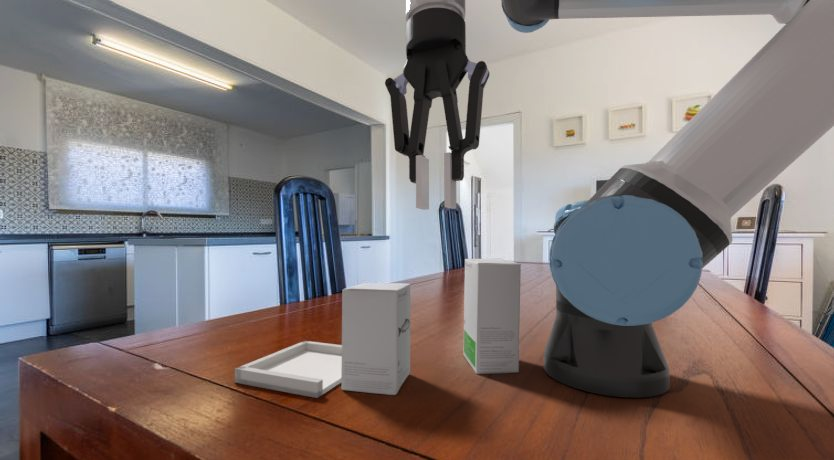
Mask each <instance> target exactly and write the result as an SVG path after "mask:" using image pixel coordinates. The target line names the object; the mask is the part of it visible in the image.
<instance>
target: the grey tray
mask: <svg viewBox="0 0 834 460" xmlns="http://www.w3.org/2000/svg"><path fill="white" fill-rule="evenodd" d="M341 373H342V344H335V343H326V342H320V341H309V340H303V341H300V342H298V343H296V344H293V345H290V346H288V347H285V348H282V349H281V350H278V351H276V352H273V353H270V354H268V355H265V356H263V357H261V358H258V359H256V360H253V361H250V362H247V363H245V364H244V365H243V364H242V365H241V366H238V367H235V368H234V383H235V384H239V385H240V384H241V385H246V386H251V387H256V388H262V389H266V390H272V391H278V392H281V393H282V392H284V393H288V394H294V395H298V396H299V395H300V396H304V397H309V398H310V397H311V398H315V399H319V398H320V397H321V396H323V395H324V394H327V392H329V391H330V390H332V389H333V388H335V387H337V386H338V385H340V384H341V377H342V376H341Z"/></svg>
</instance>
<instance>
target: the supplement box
mask: <svg viewBox="0 0 834 460" xmlns="http://www.w3.org/2000/svg"><path fill="white" fill-rule="evenodd" d="M341 296H342V297H341V302H342V303H341V345H342V373H341V376H342V377H341V383H340V384H341V386H340V389H341V390H342V391H349V392H357V393H358V392H360V393H369V394H380V395H388V396H396V395H397V394H398V393H399V390H400V389H401V387H402V385H403V384H404V382H405V381H406V380H407V378H408V376H409V375H410V373H411V283H400V282H399V283H398V282H397V283H396V282H393V283H392V282H390V283H389V282H362V283H359V284H357V285H352V286H348V287H345V288H343V289H342V293H341Z"/></svg>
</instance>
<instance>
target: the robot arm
mask: <svg viewBox="0 0 834 460" xmlns="http://www.w3.org/2000/svg"><path fill="white" fill-rule="evenodd" d="M500 1H501V9H502V11H503V13H504V15H505V17H506V20H507V22H508V23H509V25H510V27H512V29H514V30H515V31H517V32H519V33H523V34H526V33H527V34H529V33H533V32H536V31H537V30H539V29H541V28H543V27H545V26H546V25H547V24H548V23H549V21H550V20H560V19H561V20H562V19H563V20H565V19H567V20H568V19H569V20H570V19H572V20H573V19H606V18H607V19H609V18H610V19H613V18H616V19H617V18H619V19H620V18H621V19H622V18H659V17H660V18H662V17H667V18H668V17H707V16H709V17H711V16H716V17H717V16H752V15H753V16H755V15H756V16H757V15H761V16H762V15H763V16H764V15H770V16H773V18H774V20H775V21H776V22H777V23H778V24H780V25H781V24H783V25H784V24H785V25H784V26H782V27H781V28H780V29H779V31H778V32H777V33H776V34H774V36H773V37H772V38H771V39H770V40H769V41H768V42H767V43H765V44H764V46H762V47H761V48H760V50H759V51H757V53H756V54H755V55H753V57H751V59H750V60H749V61H748V62H747V63H745V65H744V66H743V67H742V68H740V70H739V71H738V72H737V73H735V74H734V76H732V77H731V79H729V81H727V82H726V84H724V86H722V88H721V89H719V91H717V93H715V94H714V95H713V97H712V98H711V99H709V101H708V102H707V103H706V104H704V106H703V107H702V108H700V110H699V111H697V113H696V114H695V115H694V116H692V118H691V119H690V120H689V121H687V122H686V124H685V125H683V127H682V128H680V130H678V132H676V133H675V135H673V136H672V138H671V139H670V140H668V142H667V143H666V144H665V145H664V146H663V147H661V148H660V150H659V151H657V153H655V155H653V156H652V157H651V159H650V160H648V161H647V162H643V163H636V164H626V165H622V166H621V167H620V168H619V169H618V170H617V171H616V172H615V173H614V174H612V176H611V177H610V178H609V179H608V180H607V181H606V182H605V183H604V184H603V185H602V186H601V187H600V188H599V189H598V190H597V191H596V192H595V193H594V194H593V195H592V196H591V197H590V198H589V199H587V200H580V201H575V202H572V203H569V204H566V205H563V206H561V207H560V208H559V209H558V210H557V211H556V212H555V217H554V219H555V220H554V223H553V232H554V236H553V238H552V240H551V244H550V248H549V253H548V254H549V257H548V258H549V270H550V272H551V277H552V279H553V281H554V282H553V283H554V284H555V304H556V307H555V312H556V313H555V318H554V321H553V323H552V327H551V330H550V333H549V336H548V339H547V341H546V346H545V348H544V351H543V369H544V371H545V373H546V374H547V376H549V377H551V378H552V379H553V380H555V381H557V382H560V383H561V384H564V385H566V386H568V387H571V388H574V389H578V390H581V391H583V392H584V391H585V392H588V393H592V394H598V395H604V396H608V397H611V396H612V397H616V398H617V397H619V398H635V399H636V398H637V399H638V398H650V397H656V396H660V395H663V394H665V393H667V392H668V391H669V390H670V387H671V380H670V374H671V373H670V367H669V364H668V361H667V359H666V356H665V354H664V351H663V348H662V346H661V344H660V341H659V339H658V336H657V332H656V330H655V327H654V325H653V323H655V322H658V321H661V320H664V319H665V318H667V317H669V316H671V315H672V314H675V312H677V311H679V309H681V308H682V307H683V306H684V305H685V304H686V303H687V302H688V301H689V300H690V299H691V298H692V296H693V294H694V293H695V291H696V290H697V288H698V285H699V283H700V280H701V276H702V272H703V269H704V268H705V267H706V266H707V265H709V264H710V262H712V261H713V260H715V258H716V257H717V256H719V255H720V254H721V253H722V252H723V251H724V250H726V248H728V247H729V246H730V245H731V244H732V242H733V233H732V224H731V223H732V217H733V216H735V215H736V214H737V213H738V212H739V211H740V210H741V209H742V208H743V207H745V206H746V205H747V204H748V203H749V202H750V201H751V200H753V199H754V198H755V196H757V195H758V194H759V193H761V191H762V190H763V189H765V188H766V187H767V186H768V185H769V184H770V183H771V182H773V180H774V179H776V178H777V177H778V176H779V175H780V174H782V173H783V172H784V171H785V170H786V169H787V168H788V167H789V166H790V165H792V163H794V162H795V161H796V160H798V159H799V158H800V157H801V156H802V155H803V154H804V153H806V151H808V150H809V149H810V148H811V147H812V146H813V145H814V144H815V143H816V142H817V141H818V140H820V139H821V138H822V137H824V135H826V133H827V132H828V131H830V130H831V129H832V128H833V127H834V0H500ZM465 20H466V0H405V21H406V24H405V54H406V55H405V56H406V60H405V64H404V66H403V70H402V73H401V74H400V75H398V76H397V77H395V78H394V79H393V78H391V77H388V78H386V79H385V81H384V85H385V87H386V89H387V92H388V94H389V95H390V97H389V98H390V107H391V109H390V110H391V118H392V130H393V131H392V132H393V141H394V142H393V144H394V150H395V152H398V153H399V154H401V155H403V156H405V157H408V161H409V162H408V164H409V165H408V168H409V169H408V170H409V172H408V173H409V174H408V176H409V177H408V178H409V181H410V183H413V184H414V185H415V208H416V209H419V210H427V211H428V210H430V159H428V158H427V157H426V155H424V152H425V146H426V140H427V139H426V138H427V130H428V123H429V118H430V117H429V116H430V111H431V108H432V105H433V100H435V99H436V98H442V102H443V103H442V104H443V111H444V117H445V121H446V122H445V124H446V131H447V137H448V143H449V146H448V148H449V150H450V152H444V153H443V167H444V169H443V171H444V172H443V178H444V180H443V181H444V183H443V184H444V185H443V189H444V190H443V192H444V194H443V195H444V200H443V201H444V204H443V205H444V207H445V208H448V209H451V210H452V209H455V210H456V209H457V182H460V181H461V182H462V181H463V180H464V178H465V169H464V168H465V164H464V163H465V155H466V154H467V152H469V151H472V150H476V149H478V148H479V145H480V139H481V138H480V137H481V136H480V135H481V123H482V112H483V101H484V100H483V99H484V90H485V87H486V84H487V83H488V79H490V71H489V68H488V66H487V64H486V62H485V61H484V60H479V61H478V62H473V61H471V60H469V57H468V56H467V47H466V46H467V45H466V44H467V43H466V40H467V38H466V32H467V31H466V21H465ZM466 75H467V78H468V80H469V84H468V85H469V86H468V94H467V96H468V97H467V106H466V109H467V110H466V120H465V133H464V134H465V135H463V131H462V124H461V117H460V111H459V105H458V94H457V89H458V88H459V86H460V84H461V83H462V81H463V79H464V77H465V76H466ZM408 84H410V86H411V88H412V89H413V101H414V102H413V111H412V117H411V123H410V128H409V119H408V118H409V116H408V108H407V106H408V105H407V99H406V96H405V95H406V94H407V92H408V91H407V90H408V89H407V85H408ZM463 136H464V138H463Z"/></svg>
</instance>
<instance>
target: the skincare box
mask: <svg viewBox="0 0 834 460" xmlns="http://www.w3.org/2000/svg"><path fill="white" fill-rule="evenodd" d="M521 267H522V266H521V263H518V262H515V261H512V260H508V259H503V258H465V259H464V294H463V298H464V299H463V303H464V304H463V347H462V348H463V352H462V353H463V356H464V358H465V359H466V361H467V362H468V364H469V365H470V367H471V368H472V369H473V371H474V372H475V374H476V375H484V374H485V375H487V374H511V373H512V374H513V373H514V374H515V373H517V374H518V373H520V370H519V369H520V325H521V324H520V323H521V322H520V321H521V320H520V313H521V311H520V309H521V308H520V307H521V274H522V273H521Z"/></svg>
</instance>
